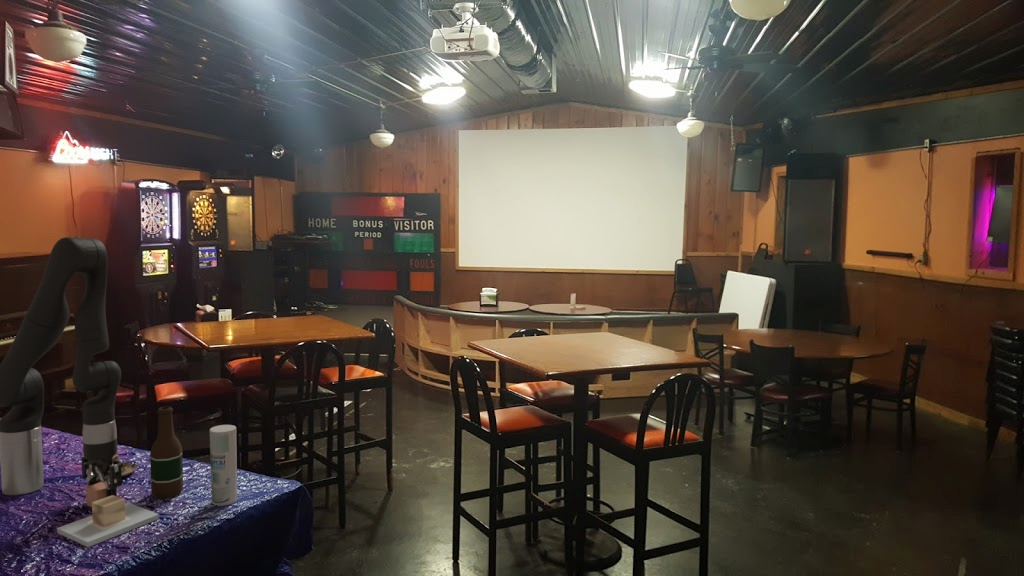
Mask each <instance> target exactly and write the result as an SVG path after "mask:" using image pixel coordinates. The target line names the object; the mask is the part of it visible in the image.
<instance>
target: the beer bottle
mask: <svg viewBox="0 0 1024 576" xmlns="http://www.w3.org/2000/svg"><path fill="white" fill-rule="evenodd" d="M173 411H174V409H173V407H172V406H162V407H161V406H160V407H159V408H158V410H157V412H156V414H158V417H157V418H158V423H157V434H156V435H157V436H156V438H155V440H154V441H153V443H152V446H151V448H150V454H149V455H150V456H149V457H150V459H149V461H150V462H149V463H150V490H151V496H152V497H154V498H155V499H159V500H161V499H170V498H173V497H177V496H179V495H180V494H181V493H182V491H183V490H184V469H183V468H184V466H183V465H184V464H183V463H184V462H183V460H184V458H183V447H182V444H181V442H180V440H179V438H178V437H177V436H176V434H175V430H174V429H175V428H174V421H173V420H174V419H173Z"/></svg>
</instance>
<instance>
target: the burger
mask: <svg viewBox="0 0 1024 576" xmlns="http://www.w3.org/2000/svg"><path fill="white" fill-rule="evenodd" d="M118 458H119V455H118V454H116V455H114V456H113V458H112V459H113V463H114V464H115V465H116V464H119V463H120V464H121V473H122V478H123V477H126V476H128V475H130V474H132V473H133V472H134V471H136V469H137V468H138V465H137V464H136V463H132V462H126V461H125V462H121V461H120V460H118ZM106 477H109V476H106ZM97 481H98V483H100V482H101V480H100V478H98V480H97Z"/></svg>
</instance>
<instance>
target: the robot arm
mask: <svg viewBox="0 0 1024 576" xmlns="http://www.w3.org/2000/svg"><path fill="white" fill-rule="evenodd" d="M106 248H107V247H106V246H105V245H104V243H103V242H102V241H101V240H99V239H97V238H92V237H91V238H90V237H76V236H75V237H73V236H65V237H62V238H60V239H58V240H57V241H56V243H55V244H54V245H53V247H52V249H51V251H50V254H49V257H48V260H47V262H46V265H45V269H44V272H43V274H42V277H41V281H40V283H39V286H38V287H37V290H36V293H35V295H34V297H33V299H32V302H31V303H30V305H29V307H28V309H27V311H26V313H25V315H24V317H23V320H22V322H21V324H20V328H19V329H18V332H17V333H16V336H15V337H14V340H13V341H12V343H11V345H10V347H9V350H8V352H7V353H6V355H5V357H4V358H3V360H2V362H1V363H0V408H7V407H8V408H9V407H11V408H10V410H9V411H8V412H7V413H6V414H5V415H4V416H2V417H1V418H0V476H1V480H0V481H1V493H2V494H3V495H7V496H19V495H26V494H29V493H33V492H36V491H38V490H40V489H42V488H43V487H44V486H45V485H44V484H45V481H44V479H45V478H44V459H43V458H44V457H43V442H42V441H43V439H42V437H43V436H42V423H41V422H42V418H43V416H44V410H45V409H44V408H45V400H44V399H45V386H44V384H45V383H44V380H43V377H42V375H41V374H40V372H39V371H38V370H37V369H35V368H33V367H34V365H35V364H36V363H37V362H38V361H39V360H40V359H41V358H42V357H44V355H46V354H47V353H48V352H49V351H50V350H51V349H52V348H54V346H55V345H56V344H57V343H58V342H59V340H60V339H61V337H62V335H63V334H64V331H65V330H66V329H65V328H66V327H67V325H68V322H69V320H70V316H71V315H70V308H69V305H68V301H67V299H66V289H67V287H68V284H69V282H70V281H71V278H72V276H73V275H74V274H84V279H85V290H84V294H83V296H82V297H83V298H82V300H81V301H80V302H81V303H80V304H79V306H78V309H77V312H76V314H75V317H74V333H75V334H74V335H75V341H76V354H75V355H76V356H75V362H74V367H73V372H72V377H71V378H72V384H73V386H74V388H75V389H76V390H77V391H79V392H82V393H88V392H93V391H99V390H101V391H100V392H99V393H98V394H97V395H96V396H94V397H91V398H88V399H87V400H85V401H84V402H83V404H82V451H83V456H82V457H81V477H82V479H83V480H85V481H86V483H87V485H88V486H90V485H94V484H97V483H99V482H98V481H97V480H98V478H100V480H101V482H103V483H104V484H105V487H106V497H109V496H112V495H114V496H117V497H118V492H117V493H116V488H119V487H122V486H123V480H122V478H123V477H122V473H121V464H120V463H119V464H116V465H115V464H114V463H113V459H112V458H113V456H114V455H118V454H117V453H118V433H117V432H118V431H117V424H116V414H115V413H116V412H115V411H116V409H115V404H116V400H117V399H116V398H117V393H118V390H119V387H120V384H121V380H122V379H121V378H122V369H121V367H120V366H119V364H118V363H117V362H115V361H114V360H106V361H105V360H104V361H98V362H91V360H92V358H93V357H94V356H95V355H97V354H100V353H103V352H106V351H107V350H109V348H110V341H109V332H108V325H107V316H106V312H107V311H106V301H107V300H106V299H107V298H106V297H107V285H108V283H107V281H108V251H107V249H106ZM106 476H109V477H106ZM109 482H110V484H109Z"/></svg>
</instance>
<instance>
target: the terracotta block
mask: <svg viewBox="0 0 1024 576" xmlns="http://www.w3.org/2000/svg"><path fill="white" fill-rule="evenodd" d="M108 482H109V484H110V481H108ZM117 488H118V487H117ZM117 488H116V493H117V494H118V492H117ZM85 495H86V506H88V507H91V508H92V502H94V501H97V500H100V499H103V498H106V487H105V484H104V483H103V482H98V483H97V484H94V485H90V486H85Z"/></svg>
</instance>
